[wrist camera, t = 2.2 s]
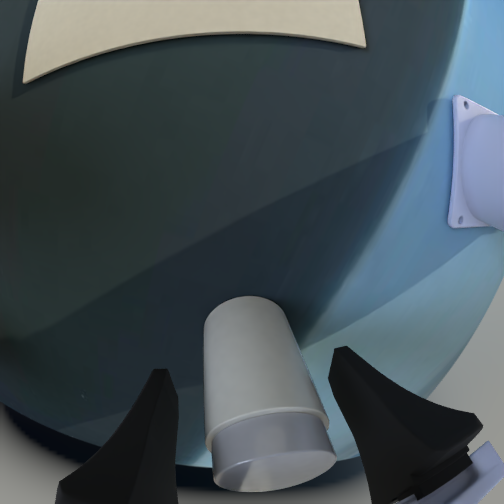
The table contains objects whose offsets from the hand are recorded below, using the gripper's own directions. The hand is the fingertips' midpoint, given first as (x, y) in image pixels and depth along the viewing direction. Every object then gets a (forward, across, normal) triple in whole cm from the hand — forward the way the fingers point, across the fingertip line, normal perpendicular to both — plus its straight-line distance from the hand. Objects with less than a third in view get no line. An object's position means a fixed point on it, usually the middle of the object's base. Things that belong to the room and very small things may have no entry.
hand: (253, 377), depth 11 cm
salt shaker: (+3, 0, 0) cm, 3 cm away
